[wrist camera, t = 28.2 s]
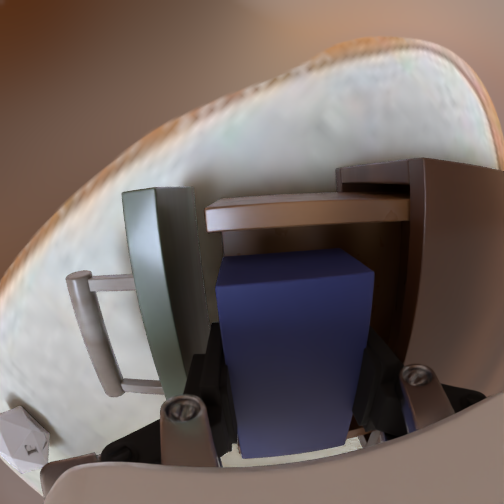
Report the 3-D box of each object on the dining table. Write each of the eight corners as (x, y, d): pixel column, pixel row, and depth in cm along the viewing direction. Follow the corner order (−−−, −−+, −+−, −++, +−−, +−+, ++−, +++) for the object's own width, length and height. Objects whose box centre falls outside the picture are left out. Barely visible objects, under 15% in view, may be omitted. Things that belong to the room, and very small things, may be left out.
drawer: (141, 385, 18) (112, 453, 11) (97, 200, 14) (21, 213, 8) (384, 365, 18) (425, 424, 11) (400, 179, 15) (479, 182, 8)
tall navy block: (328, 402, 12) (344, 445, 9) (241, 412, 12) (242, 459, 9) (340, 247, 10) (375, 271, 7) (222, 256, 10) (214, 286, 7)
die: (62, 450, 23) (57, 487, 14) (14, 448, 18) (-1, 481, 10) (43, 399, 24) (28, 427, 16) (-6, 397, 19) (-30, 421, 11)
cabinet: (330, 374, 19) (368, 462, 10) (335, 168, 15) (423, 157, 7) (466, 337, 19) (521, 383, 11) (486, 179, 16) (565, 188, 7)
